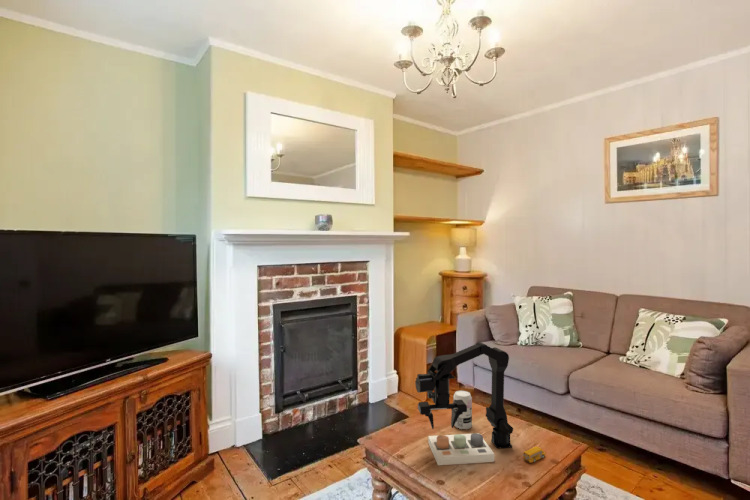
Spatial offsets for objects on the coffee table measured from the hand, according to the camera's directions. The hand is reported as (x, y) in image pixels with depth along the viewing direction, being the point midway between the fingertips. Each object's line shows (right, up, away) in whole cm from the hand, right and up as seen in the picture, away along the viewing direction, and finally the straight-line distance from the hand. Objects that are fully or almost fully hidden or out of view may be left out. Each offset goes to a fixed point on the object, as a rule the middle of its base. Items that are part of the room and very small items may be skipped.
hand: (442, 428), depth 153 cm
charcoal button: (+14, -7, +1) cm, 16 cm away
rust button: (0, -7, 0) cm, 7 cm away
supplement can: (+13, -10, +22) cm, 28 cm away
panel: (+7, -10, +1) cm, 12 cm away
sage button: (+7, -7, +1) cm, 10 cm away
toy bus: (+35, -10, -4) cm, 37 cm away
